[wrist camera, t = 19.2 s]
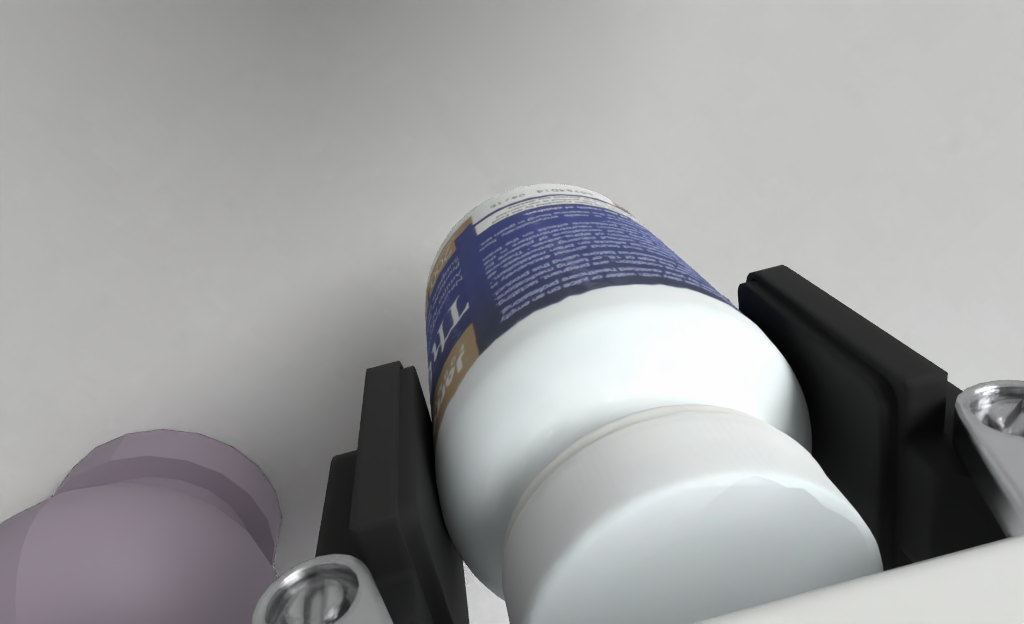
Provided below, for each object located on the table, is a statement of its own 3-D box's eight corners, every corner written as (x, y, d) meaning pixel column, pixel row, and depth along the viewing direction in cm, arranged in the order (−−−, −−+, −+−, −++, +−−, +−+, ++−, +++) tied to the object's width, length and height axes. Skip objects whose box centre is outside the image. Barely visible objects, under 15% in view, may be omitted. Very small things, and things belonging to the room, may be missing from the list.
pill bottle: (395, 208, 15) (383, 494, 6) (639, 153, 15) (969, 349, 6) (453, 419, 17) (505, 856, 8) (664, 368, 17) (935, 737, 9)
